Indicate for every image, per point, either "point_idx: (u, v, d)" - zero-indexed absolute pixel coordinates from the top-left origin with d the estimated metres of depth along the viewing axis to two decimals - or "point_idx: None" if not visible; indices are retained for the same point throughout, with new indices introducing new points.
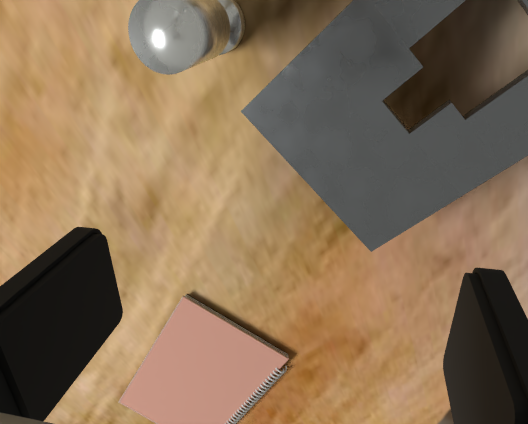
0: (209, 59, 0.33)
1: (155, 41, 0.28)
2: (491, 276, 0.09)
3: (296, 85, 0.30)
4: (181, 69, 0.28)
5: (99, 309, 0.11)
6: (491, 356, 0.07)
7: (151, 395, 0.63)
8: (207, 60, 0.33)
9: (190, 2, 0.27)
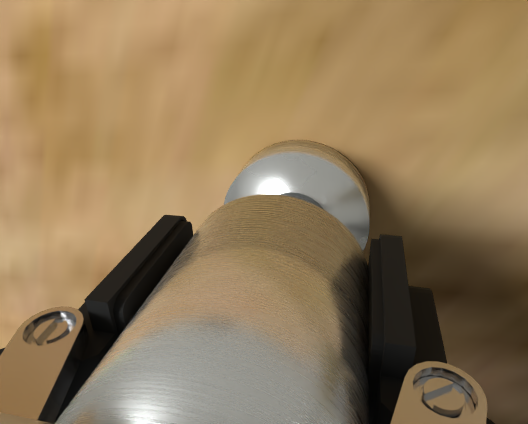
0: None
1: None
2: (389, 240, 0.10)
3: None
4: None
5: None
6: (371, 301, 0.09)
7: None
8: None
9: None
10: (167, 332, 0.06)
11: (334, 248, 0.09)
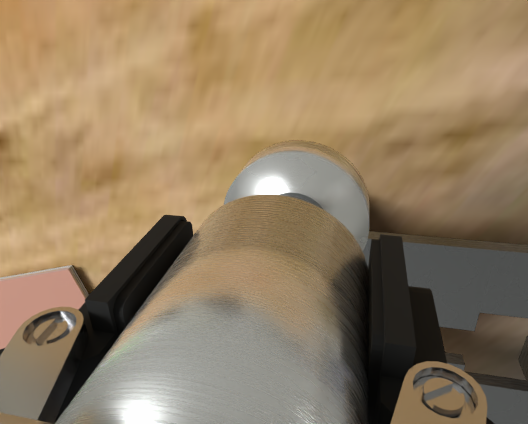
0: None
1: None
2: (389, 240, 0.10)
3: None
4: None
5: None
6: (371, 301, 0.09)
7: None
8: None
9: None
10: (167, 331, 0.06)
11: (334, 248, 0.09)
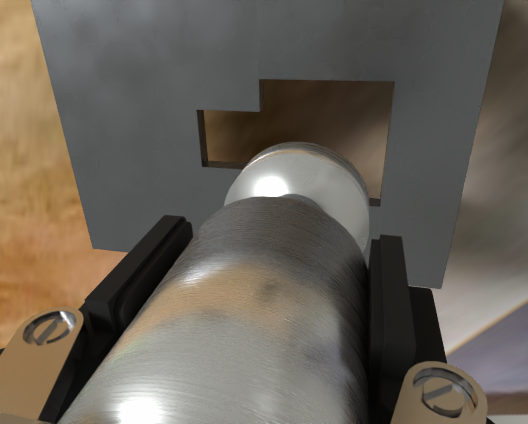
0: None
1: None
2: (389, 240, 0.10)
3: (113, 5, 0.20)
4: None
5: None
6: (371, 302, 0.09)
7: None
8: None
9: None
10: (167, 334, 0.06)
11: (334, 250, 0.09)
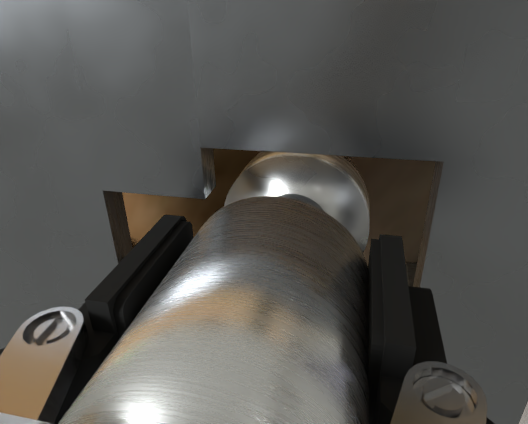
0: None
1: None
2: (389, 240, 0.10)
3: None
4: None
5: None
6: (371, 301, 0.09)
7: None
8: None
9: None
10: (168, 334, 0.06)
11: (334, 250, 0.09)
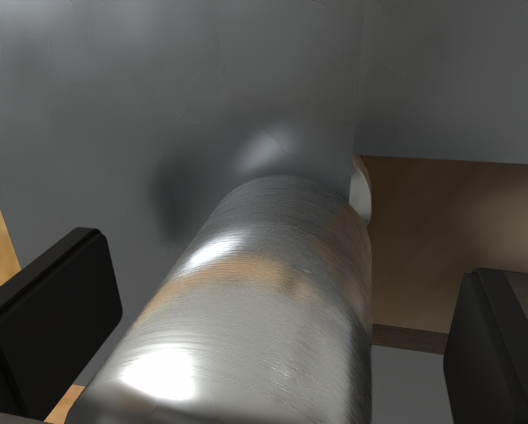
0: None
1: None
2: (491, 276, 0.09)
3: (78, 16, 0.11)
4: None
5: (99, 309, 0.11)
6: (491, 356, 0.07)
7: None
8: None
9: None
10: (200, 281, 0.07)
11: (340, 221, 0.10)
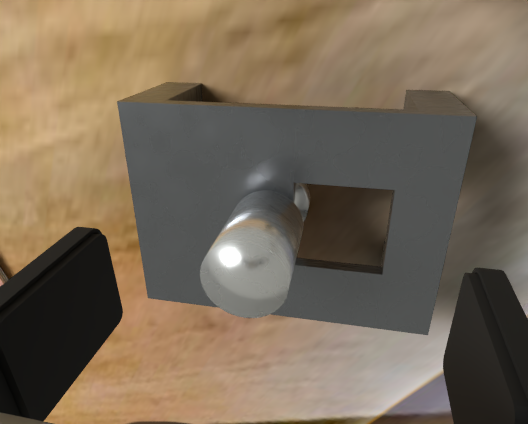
0: None
1: (230, 277, 0.23)
2: (491, 276, 0.09)
3: (185, 127, 0.27)
4: (232, 312, 0.24)
5: (99, 309, 0.11)
6: (491, 356, 0.07)
7: None
8: None
9: (291, 269, 0.23)
10: (239, 224, 0.24)
11: (288, 208, 0.27)
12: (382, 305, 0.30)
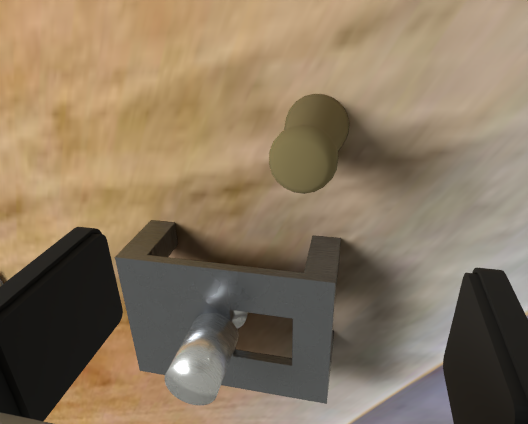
0: None
1: (182, 383, 0.37)
2: (491, 276, 0.09)
3: (158, 274, 0.41)
4: (185, 401, 0.38)
5: (99, 309, 0.11)
6: (491, 356, 0.07)
7: None
8: None
9: (221, 376, 0.38)
10: (189, 348, 0.38)
11: (225, 328, 0.41)
12: (294, 384, 0.44)
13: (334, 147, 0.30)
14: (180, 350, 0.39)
